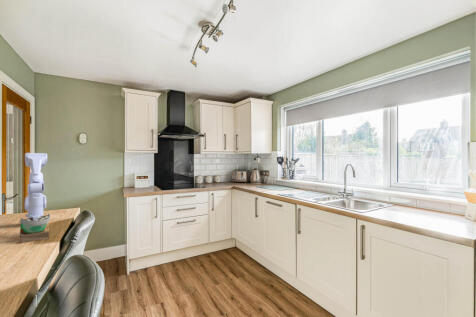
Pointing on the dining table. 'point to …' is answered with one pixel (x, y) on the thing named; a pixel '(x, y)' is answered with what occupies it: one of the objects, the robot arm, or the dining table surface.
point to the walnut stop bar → (34, 236)
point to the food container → (33, 225)
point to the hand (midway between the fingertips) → (35, 231)
